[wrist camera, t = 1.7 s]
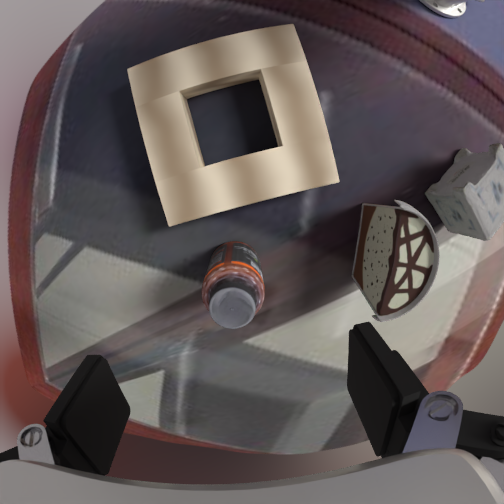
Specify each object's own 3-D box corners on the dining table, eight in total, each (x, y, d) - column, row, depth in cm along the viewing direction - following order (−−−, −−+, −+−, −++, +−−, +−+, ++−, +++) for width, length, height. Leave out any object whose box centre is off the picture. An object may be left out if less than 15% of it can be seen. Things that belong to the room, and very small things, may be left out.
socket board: (288, 37, 27) (293, 23, 23) (328, 179, 32) (339, 181, 29) (139, 78, 28) (127, 69, 24) (177, 219, 33) (169, 226, 30)
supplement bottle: (205, 279, 36) (189, 328, 25) (217, 233, 34) (204, 267, 23) (252, 292, 36) (255, 345, 25) (266, 247, 35) (276, 286, 24)
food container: (389, 287, 37) (426, 323, 27) (349, 287, 36) (379, 326, 27) (406, 196, 33) (453, 210, 23) (363, 190, 33) (404, 202, 23)
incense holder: (456, 141, 31) (508, 141, 21) (479, 189, 33) (529, 200, 23) (415, 182, 32) (466, 192, 23) (442, 230, 34) (490, 252, 24)
